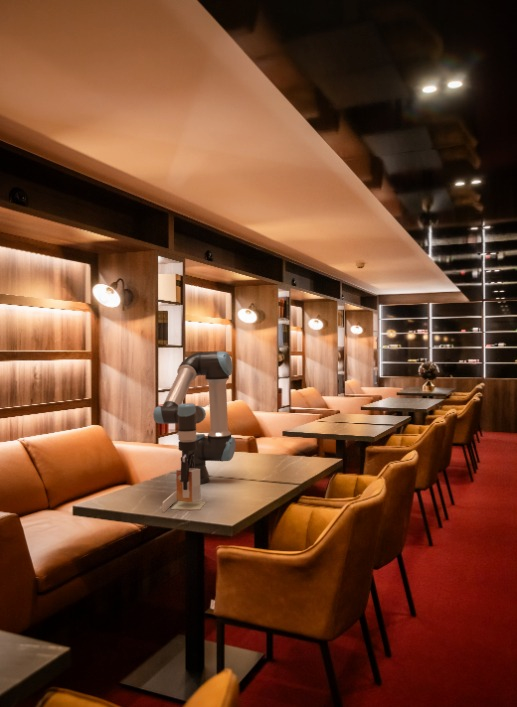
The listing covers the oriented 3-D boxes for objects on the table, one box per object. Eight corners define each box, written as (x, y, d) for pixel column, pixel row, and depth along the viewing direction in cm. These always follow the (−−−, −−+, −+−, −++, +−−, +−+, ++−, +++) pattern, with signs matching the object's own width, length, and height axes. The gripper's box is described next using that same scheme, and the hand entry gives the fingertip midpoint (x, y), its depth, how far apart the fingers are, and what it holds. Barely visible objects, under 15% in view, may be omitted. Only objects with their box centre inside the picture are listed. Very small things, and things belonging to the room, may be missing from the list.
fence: (175, 499, 259) (175, 490, 259) (177, 499, 259) (177, 490, 259) (162, 512, 239) (162, 502, 239) (164, 512, 239) (164, 502, 239)
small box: (176, 501, 247) (175, 469, 247) (185, 497, 253) (184, 467, 253) (192, 502, 243) (191, 471, 243) (201, 499, 249) (200, 468, 249)
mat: (178, 502, 255) (178, 501, 255) (206, 502, 253) (206, 501, 253) (171, 509, 243) (171, 508, 243) (199, 509, 241) (199, 508, 241)
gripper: (185, 437, 259) (186, 489, 259) (171, 444, 238) (173, 501, 238) (201, 437, 258) (202, 489, 258) (190, 444, 237) (191, 501, 237)
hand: (188, 494), depth 248 cm, fingers closed on small box, 8 cm apart
